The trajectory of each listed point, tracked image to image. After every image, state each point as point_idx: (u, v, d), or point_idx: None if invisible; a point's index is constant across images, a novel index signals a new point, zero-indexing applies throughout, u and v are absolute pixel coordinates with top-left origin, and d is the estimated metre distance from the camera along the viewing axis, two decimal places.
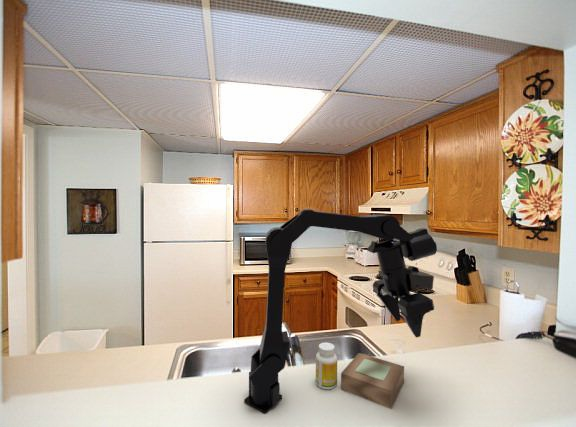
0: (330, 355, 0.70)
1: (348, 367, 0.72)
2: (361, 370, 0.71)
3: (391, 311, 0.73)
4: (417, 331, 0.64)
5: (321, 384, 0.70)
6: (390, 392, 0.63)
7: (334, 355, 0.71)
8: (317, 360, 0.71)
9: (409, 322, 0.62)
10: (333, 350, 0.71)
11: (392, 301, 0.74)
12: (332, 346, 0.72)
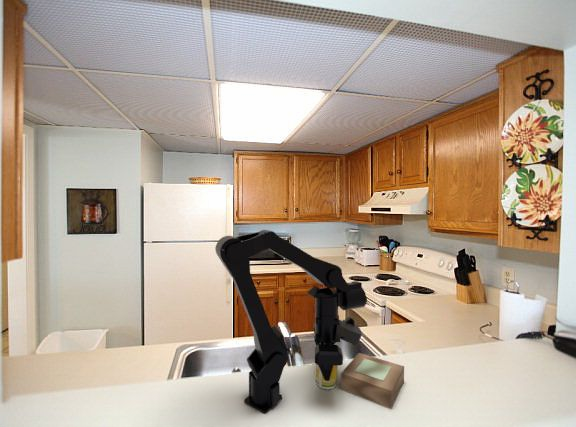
0: None
1: (348, 367, 0.72)
2: (361, 370, 0.71)
3: None
4: (327, 375, 0.69)
5: (321, 384, 0.70)
6: (390, 392, 0.63)
7: None
8: None
9: (319, 365, 0.68)
10: None
11: None
12: None
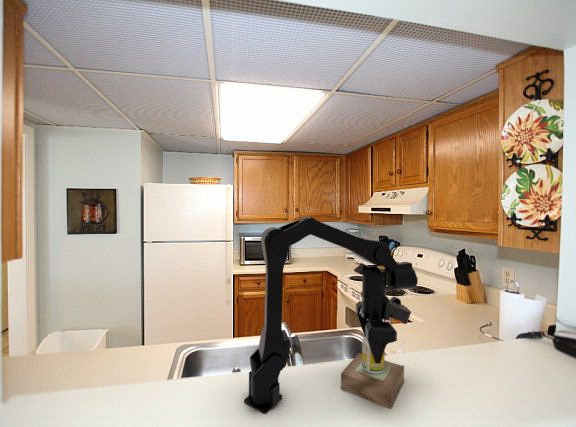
0: None
1: (348, 367, 0.72)
2: (361, 370, 0.71)
3: None
4: (378, 357, 0.66)
5: (369, 368, 0.69)
6: (390, 392, 0.63)
7: None
8: (365, 344, 0.70)
9: (371, 346, 0.65)
10: None
11: None
12: None
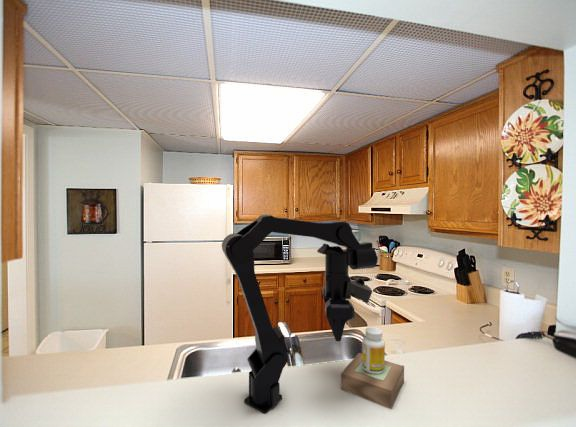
0: (378, 339, 0.70)
1: (348, 367, 0.72)
2: (361, 370, 0.71)
3: None
4: (338, 335, 0.67)
5: (369, 368, 0.69)
6: (390, 392, 0.63)
7: (381, 340, 0.71)
8: (364, 344, 0.70)
9: (330, 324, 0.66)
10: (381, 335, 0.70)
11: None
12: (379, 330, 0.71)
